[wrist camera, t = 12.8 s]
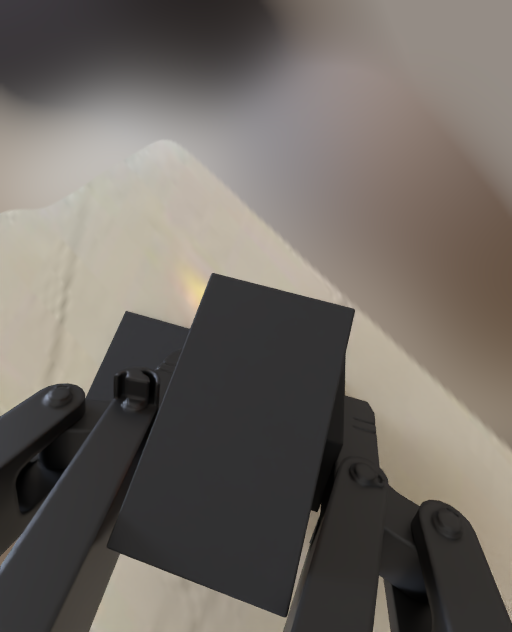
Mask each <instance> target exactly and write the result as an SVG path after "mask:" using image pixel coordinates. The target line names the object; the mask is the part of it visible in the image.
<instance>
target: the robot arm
mask: <svg viewBox="0 0 512 632" xmlns="http://www.w3.org/2000/svg"><path fill="white" fill-rule="evenodd" d="M181 351H182V349H179V350H177V351H175V352H173V353H170V354H169V355H168V356H167V357H166V358H165V359H164V360H163V362H162V363H161V364H160V365H159V366H158V367H157V369H155V370H153V369H150V368H147V367H140V366H134V367H127V368H125V369H122V370H120V371H118V372H117V373H116V374H115V375H114V399H113V400H91V399H85V393H84V391H83V389H82V388H80V387H78V386H77V385H73V384H56V385H52V386H48V387H46V388H44V389H42V390H40V391H38V392H37V393H35V394H34V395H32V396H31V397H29V398H28V399H26V400H25V401H23V402H22V403H20V404H19V405H17V406H16V407H14V408H13V409H11V410H10V411H8V412H7V413H5V414H4V415H2V416H1V417H0V556H1V555H2V554H3V553H4V552H5V551H6V550H7V549H8V548H9V547H10V546H11V545H12V543H13V542H14V541H15V540H16V539H17V538H18V537H19V536H20V535H21V534H22V535H21V536H20V538H19V539H18V541H17V542H16V544H15V545H14V547H13V548H12V549H11V551H10V553H9V554H8V556H7V557H6V559H5V560H4V562H3V563H2V564H1V566H0V632H89V630H90V627H91V625H92V622H93V620H94V617H95V615H96V612H97V610H98V607H99V605H100V602H101V600H102V597H103V595H104V592H105V590H106V587H107V585H108V582H109V580H110V577H111V575H112V572H113V570H114V567H115V565H116V562H117V560H118V557H119V555H120V553H118V552H116V551H113V550H110V549H108V548H107V543H108V540H109V538H110V535H111V533H112V530H113V527H114V525H115V522H116V520H117V517H118V514H119V512H120V509H121V507H122V504H123V501H124V499H125V496H126V494H127V491H128V489H129V486H130V483H131V481H132V478H133V476H134V473H135V470H136V468H137V465H138V463H139V460H140V458H141V455H142V452H143V450H144V447H145V445H146V442H147V439H148V437H149V434H150V432H151V429H152V426H153V424H154V421H155V419H156V416H157V414H158V411H159V408H160V406H161V403H162V401H163V398H164V395H165V393H166V390H167V388H168V385H169V383H170V380H171V377H172V375H173V372H174V370H175V367H176V364H177V362H178V359H179V357H180V354H181ZM345 355H346V353H345ZM320 504H321V512H320V517H319V519H318V522H317V524H316V527H315V529H314V532H313V535H312V537H311V540H310V542H309V543H310V546H309V550H308V553H307V556H306V559H305V563H304V566H303V569H302V572H301V576H300V579H299V582H298V585H297V589H296V592H295V595H294V598H293V602H292V605H291V608H290V611H289V614H288V618H287V621H286V624H285V627H284V631H283V632H373V624H374V615H375V606H376V597H377V588H378V579H379V575H380V576H381V577H383V578H384V585H385V593H386V600H387V607H388V614H389V622H390V629H391V632H512V623H511V620H510V618H509V615H508V613H507V610H506V608H505V605H504V603H503V600H502V598H501V595H500V593H499V590H498V588H497V585H496V583H495V580H494V578H493V575H492V573H491V570H490V568H489V565H488V563H487V560H486V558H485V555H484V553H483V550H482V548H481V545H480V543H479V540H478V538H477V535H476V533H475V531H474V529H473V528H472V526H471V524H470V522H469V521H468V520H467V519H466V518H465V517H464V516H463V515H462V514H461V513H460V512H459V511H457V510H456V509H454V508H453V507H452V506H450V505H448V504H446V503H443V502H441V501H437V500H428V501H425V502H423V503H422V504H421V506H418V505H417V504H415V503H413V502H412V501H410V500H408V499H407V498H405V497H403V496H402V495H400V494H399V493H397V492H396V491H395V490H394V489H393V488H392V487H391V486H389V484H388V479H387V477H386V475H385V473H384V472H383V470H382V469H381V468H380V467H379V457H378V447H377V436H376V426H375V416H374V412H373V410H372V409H371V407H370V405H369V404H368V402H365V401H362V400H359V399H355V398H352V397H348V396H345V358H344V362H343V367H342V371H341V376H340V380H339V385H338V390H337V394H336V399H335V403H334V408H333V412H332V417H331V421H330V426H329V430H328V435H327V439H326V444H325V448H324V453H323V457H322V462H321V466H320V471H319V475H318V480H317V484H316V489H315V493H314V498H313V502H312V507H311V510H312V511H315V512H318V510H319V507H320Z"/></svg>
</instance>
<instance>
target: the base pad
mask: <svg viewBox="0 0 512 632" xmlns="http://www.w3.org/2000/svg"><path fill="white" fill-rule="evenodd" d="M189 331H190V329H188V328H184V327H181V326H177V325H174V324H170V323H167V322H163V321H160V320H156V319H153V318H149V317H145V316H142V315H138V314H135V313H131V312H128V311H126V312H125V314H124V316H123V319H122V321H121V323H120V325H119V327H118V329H117V332H116V334H115V336H114V338H113V340H112V342H111V344H110V347H109V349H108V351H107V353H106V355H105V357H104V360H103V362H102V364H101V366H100V368H99V370H98V373H97V375H96V377H95V379H94V381H93V383H92V385H91V388H90V390H89V392H88V394H87V396H86V398H85V399H91V400H113V399H114V375H115V374H116V373H117V372H118V371H120V370H122V369H125V368H127V367H134V366H140V367H147V368H150V369H153V370H155V369H157V367H158V366H159V365H160V364H161V363H162V362H163V360H164V359H165V358H166V357H167V356H168V355H169V354H170V353H173V352H175V351H177V350H179V349H183V346H184V344H185V341H186V339H187V336H188V333H189Z"/></svg>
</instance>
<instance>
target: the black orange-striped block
mask: <svg viewBox="0 0 512 632" xmlns="http://www.w3.org/2000/svg"><path fill="white" fill-rule="evenodd" d="M354 313H355V310H354V309H352V308H348V307H345V306H341V305H337V304H333V303H329V302H325V301H321V300H317V299H313V298H309V297H305V296H301V295H297V294H293V293H290V292H286V291H282V290H278V289H274V288H270V287H266V286H262V285H258V284H254V283H250V282H246V281H242V280H238V279H235V278H231V277H227V276H223V275H219V274H215V273H212V274H211V277H210V279H209V282H208V284H207V287H206V289H205V292H204V295H203V297H202V300H201V302H200V305H199V308H198V310H197V313H196V315H195V318H194V320H193V323H192V326H191V328H190V331H189V333H188V336H187V339H186V341H185V344H184V346H183V349H182V351H181V354H180V357H179V359H178V362H177V364H176V367H175V370H174V372H173V375H172V377H171V380H170V383H169V385H168V388H167V390H166V393H165V395H164V398H163V401H162V403H161V406H160V408H159V411H158V414H157V416H156V419H155V421H154V424H153V426H152V429H151V432H150V434H149V437H148V439H147V442H146V445H145V447H144V450H143V452H142V455H141V458H140V460H139V463H138V465H137V468H136V470H135V473H134V476H133V478H132V481H131V483H130V486H129V489H128V491H127V494H126V496H125V499H124V501H123V504H122V507H121V509H120V512H119V514H118V517H117V520H116V522H115V525H114V527H113V530H112V533H111V535H110V538H109V540H108V543H107V548H108V549H110V550H113V551H116V552H118V553H121V554H123V555H126V556H128V557H131V558H133V559H136V560H139V561H141V562H144V563H146V564H149V565H151V566H154V567H157V568H159V569H162V570H164V571H167V572H169V573H172V574H174V575H177V576H180V577H182V578H185V579H187V580H190V581H192V582H195V583H197V584H200V585H203V586H205V587H208V588H210V589H213V590H215V591H218V592H221V593H223V594H226V595H228V596H231V597H233V598H236V599H238V600H241V601H244V602H246V603H249V604H251V605H254V606H256V607H259V608H261V609H264V610H267V611H269V612H272V613H274V614H277V615H279V616H282V617H286V616H287V615H288V610H289V606H290V601H291V597H292V592H293V588H294V583H295V579H296V574H297V570H298V565H299V561H300V556H301V552H302V547H303V543H304V538H305V534H306V529H307V525H308V520H309V516H310V511H311V507H312V502H313V498H314V493H315V489H316V484H317V480H318V475H319V471H320V466H321V462H322V457H323V453H324V448H325V444H326V439H327V435H328V430H329V426H330V421H331V417H332V412H333V408H334V403H335V399H336V394H337V390H338V385H339V380H340V376H341V371H342V367H343V362H344V358H345V353H346V349H347V344H348V340H349V335H350V331H351V326H352V322H353V317H354Z"/></svg>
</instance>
